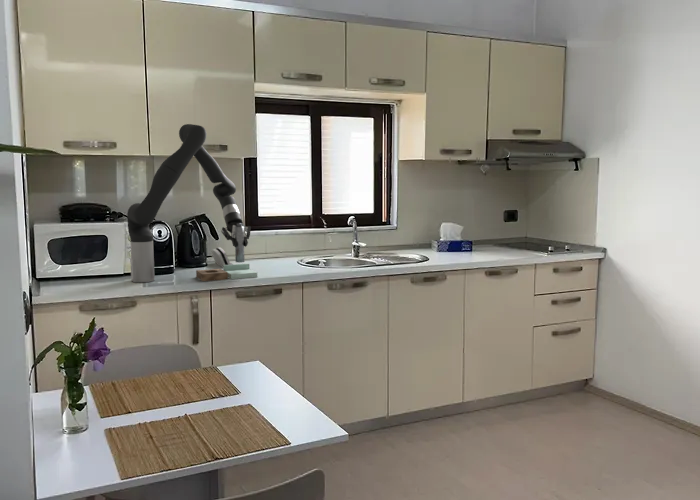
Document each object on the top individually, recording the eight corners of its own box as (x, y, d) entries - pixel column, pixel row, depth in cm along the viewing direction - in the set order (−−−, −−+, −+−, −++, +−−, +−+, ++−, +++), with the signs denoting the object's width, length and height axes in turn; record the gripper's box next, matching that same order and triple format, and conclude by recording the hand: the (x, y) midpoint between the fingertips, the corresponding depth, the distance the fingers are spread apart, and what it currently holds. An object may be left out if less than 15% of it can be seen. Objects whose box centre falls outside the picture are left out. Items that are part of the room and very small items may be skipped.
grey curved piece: (234, 267, 308) (226, 248, 306) (225, 271, 307) (217, 252, 304) (225, 262, 323) (218, 244, 320) (216, 265, 321) (209, 247, 319)
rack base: (231, 279, 277) (231, 269, 276) (223, 274, 287) (223, 265, 287) (257, 276, 282) (257, 267, 282) (248, 272, 293) (248, 263, 292)
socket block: (202, 281, 271) (202, 274, 271) (196, 277, 281) (196, 270, 281) (227, 279, 277) (227, 272, 276) (220, 275, 286) (220, 268, 286)
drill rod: (237, 262, 281) (236, 224, 279) (234, 261, 285) (233, 223, 282) (245, 262, 283) (244, 223, 281) (242, 260, 287) (242, 223, 284)
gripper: (218, 211, 284) (227, 241, 275) (248, 210, 291) (258, 239, 282) (215, 222, 290) (223, 252, 281) (245, 220, 296) (254, 249, 287)
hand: (241, 245), depth 281 cm, fingers closed on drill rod, 4 cm apart
